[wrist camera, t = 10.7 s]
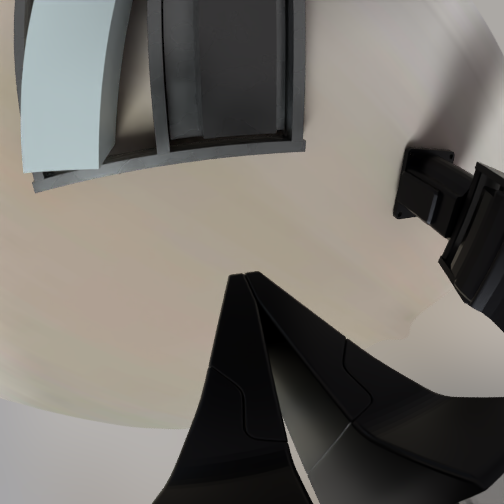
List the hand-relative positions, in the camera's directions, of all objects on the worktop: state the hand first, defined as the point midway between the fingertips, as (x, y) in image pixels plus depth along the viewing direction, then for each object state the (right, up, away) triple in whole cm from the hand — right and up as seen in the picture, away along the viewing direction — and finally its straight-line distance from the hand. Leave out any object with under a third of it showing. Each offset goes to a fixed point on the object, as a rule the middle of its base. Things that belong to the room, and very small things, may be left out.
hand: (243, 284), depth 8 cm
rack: (-5, +13, +4) cm, 15 cm away
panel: (-9, +12, +3) cm, 16 cm away
